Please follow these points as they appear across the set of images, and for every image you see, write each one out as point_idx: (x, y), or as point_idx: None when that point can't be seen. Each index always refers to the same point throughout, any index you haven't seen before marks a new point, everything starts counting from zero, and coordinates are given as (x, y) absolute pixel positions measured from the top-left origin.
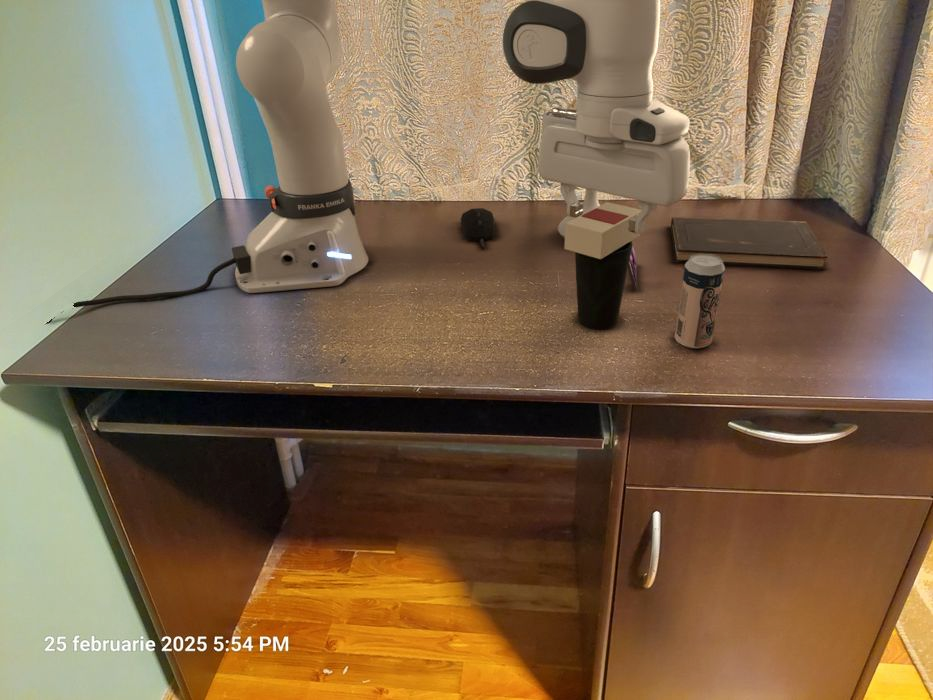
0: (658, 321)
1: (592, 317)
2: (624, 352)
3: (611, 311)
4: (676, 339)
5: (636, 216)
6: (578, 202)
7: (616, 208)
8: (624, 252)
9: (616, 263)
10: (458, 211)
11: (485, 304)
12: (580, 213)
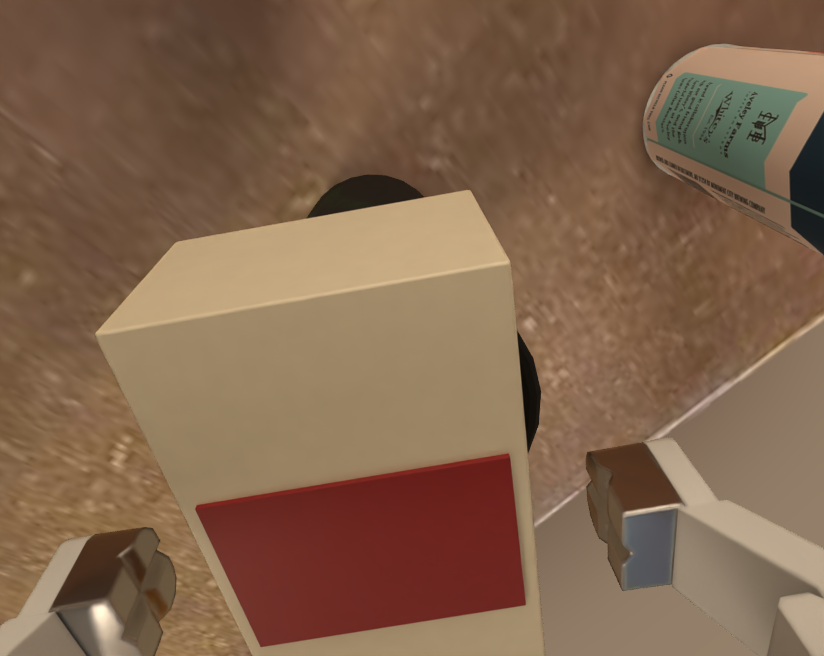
0: (532, 79)
1: None
2: (559, 320)
3: None
4: (663, 168)
5: (639, 530)
6: (79, 620)
7: (302, 399)
8: (537, 419)
9: None
10: None
11: (65, 426)
12: (151, 555)
